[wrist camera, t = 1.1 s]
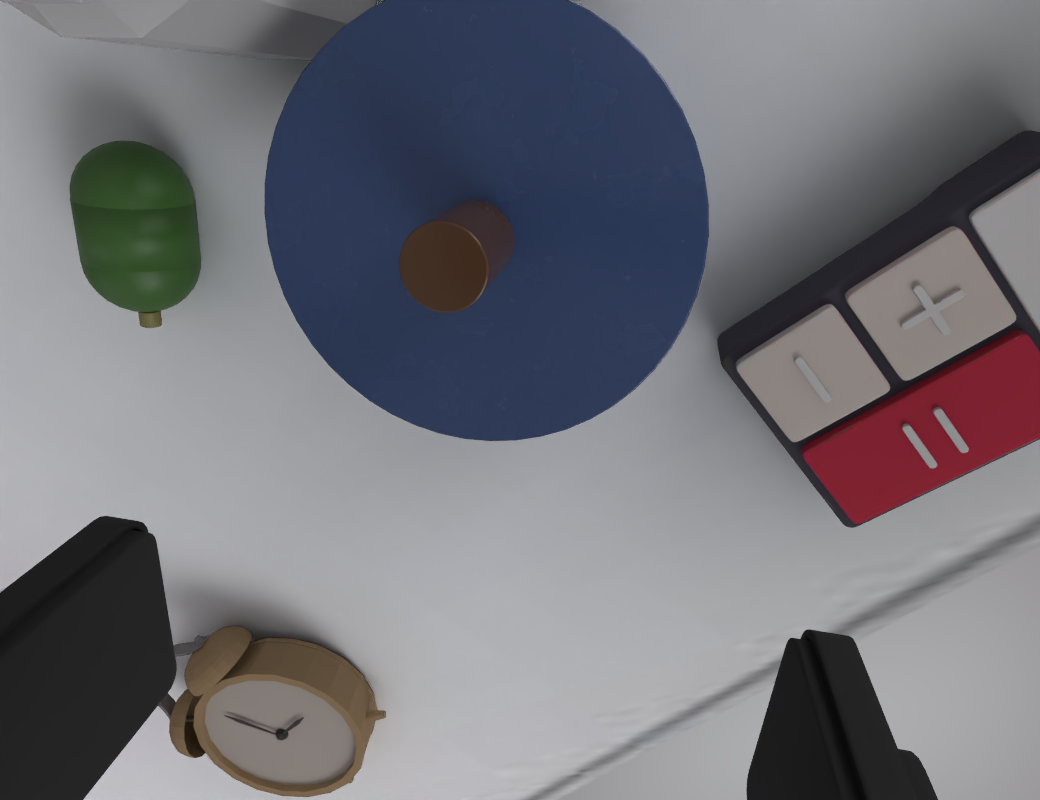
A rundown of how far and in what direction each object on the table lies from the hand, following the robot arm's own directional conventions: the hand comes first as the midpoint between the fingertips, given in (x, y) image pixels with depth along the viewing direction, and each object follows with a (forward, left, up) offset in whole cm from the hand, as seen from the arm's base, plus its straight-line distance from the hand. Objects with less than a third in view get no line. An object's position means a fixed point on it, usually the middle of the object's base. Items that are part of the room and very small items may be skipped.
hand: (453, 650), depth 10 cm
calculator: (+1, +16, -26) cm, 30 cm away
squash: (0, -21, -26) cm, 33 cm away
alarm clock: (+31, -17, -26) cm, 44 cm away
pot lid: (-3, -3, -16) cm, 17 cm away
